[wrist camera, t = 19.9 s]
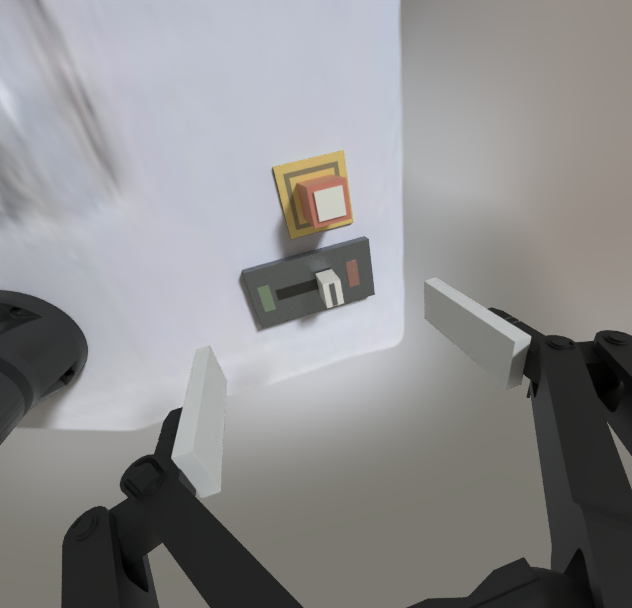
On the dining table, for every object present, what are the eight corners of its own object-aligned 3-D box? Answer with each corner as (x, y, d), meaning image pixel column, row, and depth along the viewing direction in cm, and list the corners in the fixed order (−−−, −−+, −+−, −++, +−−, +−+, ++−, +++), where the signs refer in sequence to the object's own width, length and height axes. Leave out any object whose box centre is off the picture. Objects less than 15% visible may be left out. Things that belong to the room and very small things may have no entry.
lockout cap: (304, 218, 38) (315, 229, 32) (296, 182, 36) (306, 187, 30) (336, 210, 38) (352, 219, 33) (330, 174, 36) (347, 177, 31)
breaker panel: (261, 323, 44) (262, 328, 43) (242, 269, 40) (242, 273, 38) (370, 290, 46) (375, 294, 44) (364, 236, 41) (368, 239, 40)
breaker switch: (320, 295, 42) (327, 309, 38) (315, 273, 40) (322, 285, 37) (335, 291, 42) (344, 303, 39) (331, 269, 40) (340, 280, 37)
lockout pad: (290, 238, 39) (291, 239, 39) (272, 167, 35) (273, 167, 34) (352, 221, 40) (353, 222, 40) (342, 150, 36) (344, 150, 35)
